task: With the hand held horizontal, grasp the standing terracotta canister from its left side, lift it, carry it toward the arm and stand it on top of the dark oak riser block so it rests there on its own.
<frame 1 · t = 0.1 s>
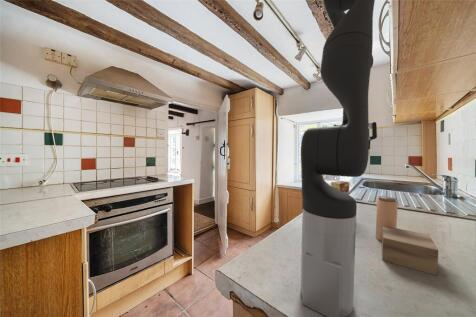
hand: (353, 150, 70), 29 cm above the countertop, tool pointing down, fingers open, 8 cm apart
pedestal: (405, 258, 50), on the countertop
canister: (385, 239, 60), on the countertop
candy box: (338, 216, 82), on the countertop
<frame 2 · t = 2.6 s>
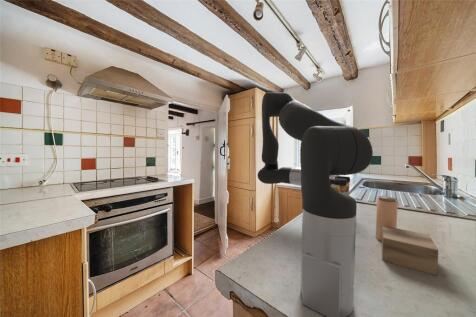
hand: (348, 181, 66), 18 cm above the countertop, tool horizontal, fingers open, 8 cm apart
nothing on the countertop moved.
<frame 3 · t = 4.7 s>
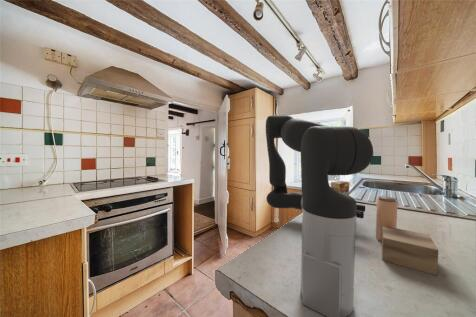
hand: (364, 211, 63), 8 cm above the countertop, tool horizontal, fingers open, 8 cm apart
nothing on the countertop moved.
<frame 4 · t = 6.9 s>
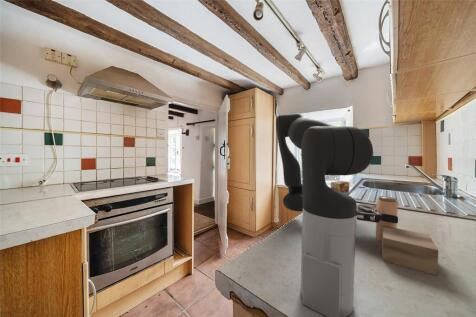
hand: (396, 217, 58), 8 cm above the countertop, tool horizontal, fingers closed on canister, 5 cm apart
canister: (385, 239, 60), on the countertop, touching gripper
everything else where it was.
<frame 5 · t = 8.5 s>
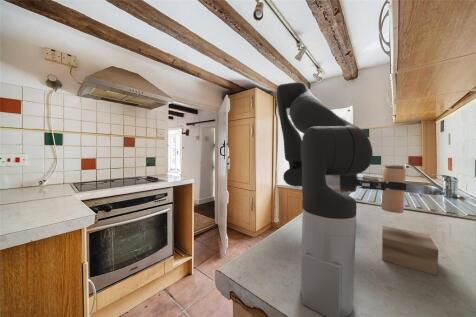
hand: (404, 185, 55), 19 cm above the countertop, tool horizontal, fingers closed on canister, 5 cm apart
canister: (392, 210, 56), point 11 cm above the countertop, touching gripper
everything else where it was.
when the fingers open (15 cm above the countertop, at t = 10.3 s): canister stays where it is, resting on pedestal.
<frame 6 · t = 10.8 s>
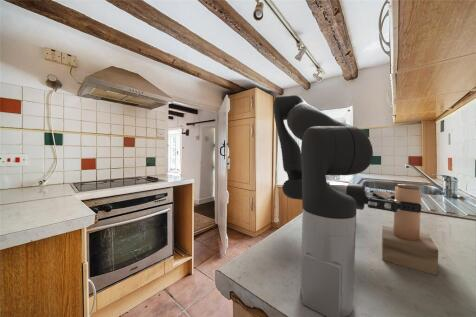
hand: (417, 204, 48), 15 cm above the countertop, tool horizontal, fingers open, 8 cm apart
canister: (405, 235, 49), point 6 cm above the countertop, touching pedestal
everything else where it was.
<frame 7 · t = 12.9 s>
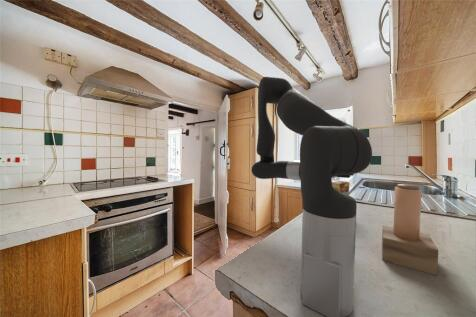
hand: (351, 173, 59), 22 cm above the countertop, tool horizontal, fingers open, 8 cm apart
nothing on the countertop moved.
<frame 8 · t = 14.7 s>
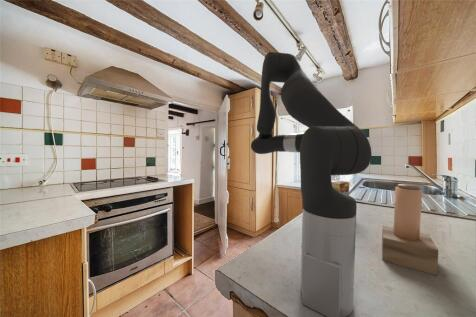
hand: (344, 141, 63), 32 cm above the countertop, tool horizontal, fingers open, 8 cm apart
nothing on the countertop moved.
at the end: canister touching pedestal; canister tilted 0° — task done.
